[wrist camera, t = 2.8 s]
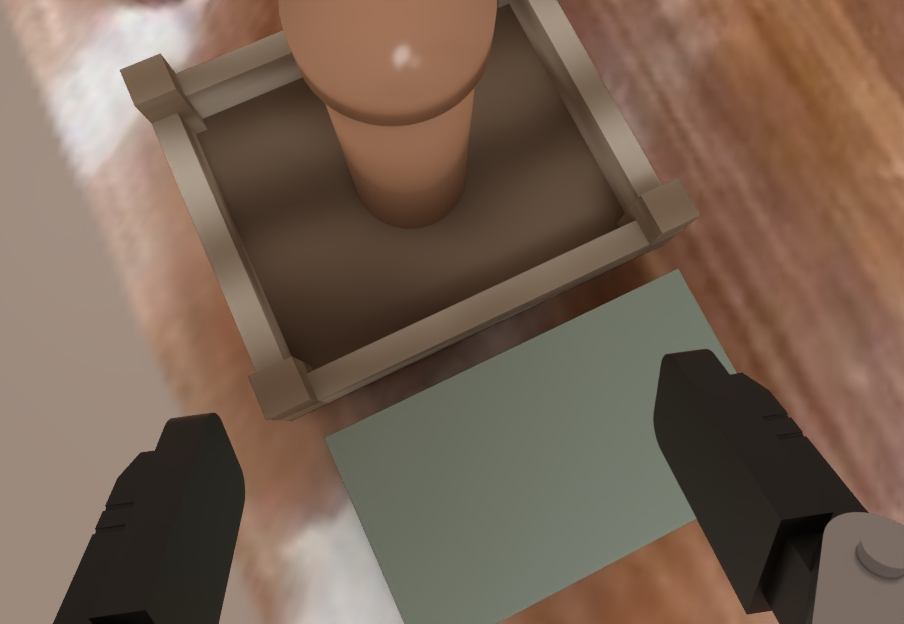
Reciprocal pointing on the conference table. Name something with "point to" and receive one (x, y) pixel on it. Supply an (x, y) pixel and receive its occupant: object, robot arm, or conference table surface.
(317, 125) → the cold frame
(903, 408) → the conference table surface
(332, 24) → the brown capped bottle
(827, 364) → the conference table surface
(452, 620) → the green stand
